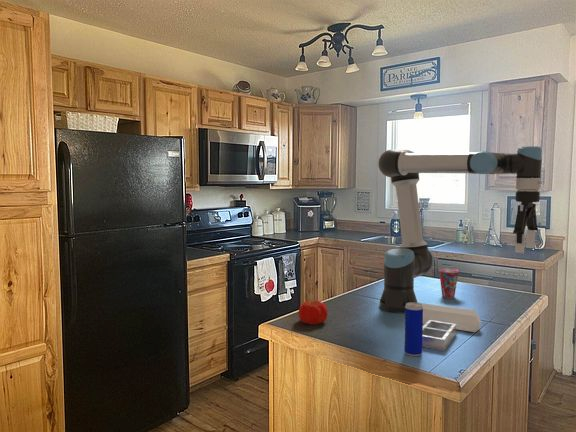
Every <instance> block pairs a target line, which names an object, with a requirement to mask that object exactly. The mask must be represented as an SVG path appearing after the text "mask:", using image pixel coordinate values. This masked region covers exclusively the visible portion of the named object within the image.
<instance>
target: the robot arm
mask: <svg viewBox="0 0 576 432" xmlns="http://www.w3.org/2000/svg"><path fill="white" fill-rule="evenodd" d="M542 158H543V157H542V147H540V146H538V145H535V146H534V145H533V146H531V145H530V146H519V147H518V148H517V151H516V152H500V153H499V152H490V151H487V150H485V151H484V150H483V151H475V152H474V151H473V152H472V151H471V152H470V151H468V152H464V151H463V152H418V153H417V152H414V151H413V150H408V149H392V148H391V149H388V150H385V151H383V153H382V154H381V155H380V157H379V159H378V162H377V163H378V164H377V165H378V169H379V171H380V172H381V174H382V175H384V176H385V177H387V178H390V180H391V184H392V185H393V186H395V187H394V188H395V191H396V201H397V208H398V215H399V218H398V219H399V225H400V233H401V244H400V245H399V247H398V248H392V249H389V250H387V251H386V252H385V254H384V259H383V291H382V294H381V296H380V299H379V308H380V309H381V310H383V311H387V312H390V313H391V312H392V313H398V314H400V313H401V314H403V313H404V314H405V306H406V303H409V302H415V303H419V302H418V299H417V296H416V293H415V289H414V284H415V280H414V279H415V278H418V277H423V276H425V275H426V274H428V273H430V272H431V270H432V269H433V267H434V264H435V258H434V255H433V253H432V252H431V251H430V249H429V247H428V246H429V245H428V243H427V242H426V241H425V240H424V236H423V228H422V220H421V213H420V212H421V211H420V204H419V196H418V188H417V184H418V182H419V181H420V174H473V175H507V174H508V175H510V174H512V175H514V174H515V176H516V177H515V178H516V180H515V190H516V192H515V201H516V202H517V203H521V204H518V205H517V210H516V211H517V213H516V216H515V217H516V218H515V223H514V228H513V231H512V234H515V243H514V244H515V245H514V253H519V254H524V253H525V248H527V249H528V248H529V249H535V246H536V245H535V243H536V231H538V230H539V227H538V223H537V220H538V219H537V210H536V209H537V207H536V206H537V204H536V203H539V202H540V200H541V199H540V196H541V192H540V191H539V190H541V185H542V184H543V181H542V180H541V175H542V174H541V173H542V163H543V162H542V161H543V159H542ZM526 226H527V227H526ZM526 228H527V229H526ZM525 229H526V234H525Z"/></svg>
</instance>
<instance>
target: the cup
mask: <svg viewBox="0 0 576 432" xmlns="http://www.w3.org/2000/svg"><path fill="white" fill-rule="evenodd" d="M438 272H439V278H440V279H439V281H440V288H441V297H442V298H444V299H455V296H456V291H457V290H456V289H457V284H458V277H459V273H460V270H459V269H458V268H449V267H448V268H447V267H446V268H439V269H438Z"/></svg>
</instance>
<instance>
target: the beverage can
mask: <svg viewBox="0 0 576 432" xmlns="http://www.w3.org/2000/svg"><path fill="white" fill-rule="evenodd" d="M420 303H421V302H418V303H415V302H409V303H406V306H405V313H404V352H405V354H406V355H408V356H411V357H418V356H419V357H420V356H421V355H422V354H423V347H422V338H423V326H424V324H423V307H422V304H420Z"/></svg>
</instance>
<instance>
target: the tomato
mask: <svg viewBox="0 0 576 432" xmlns="http://www.w3.org/2000/svg"><path fill="white" fill-rule="evenodd" d="M328 312H329V311H328V308H327V306H326V304H325V303H324V302H321V301H319V300H313V301H311V302H309V301H308V300H307V301H304V302H302V304H301V305H300V306H299V308H298V319H299V320H300V321H301V322H302V323H304V324H307V325H308V324H309V325H312V326H313V325H314V326H315V325H319V324H322V323H324V322H325V321H326V320H327V317H328V314H329V313H328Z"/></svg>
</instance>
